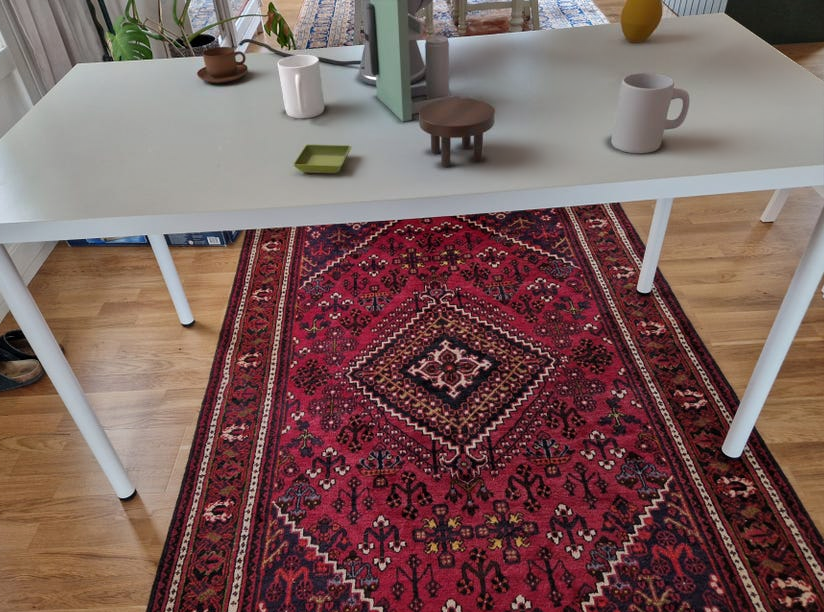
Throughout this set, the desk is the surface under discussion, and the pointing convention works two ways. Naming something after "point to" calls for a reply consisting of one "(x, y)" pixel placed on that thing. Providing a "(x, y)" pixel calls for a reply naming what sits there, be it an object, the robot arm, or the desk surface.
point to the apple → (640, 18)
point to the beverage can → (437, 67)
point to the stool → (456, 125)
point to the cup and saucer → (222, 65)
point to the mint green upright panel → (395, 56)
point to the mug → (645, 112)
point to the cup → (301, 86)
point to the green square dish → (322, 158)
